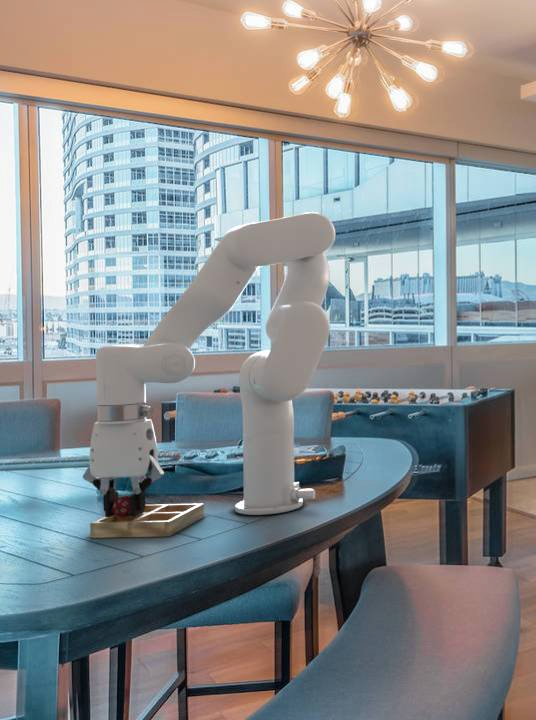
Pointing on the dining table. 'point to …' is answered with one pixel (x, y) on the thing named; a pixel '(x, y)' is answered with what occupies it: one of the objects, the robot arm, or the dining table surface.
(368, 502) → the dining table surface
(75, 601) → the dining table surface
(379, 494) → the dining table surface
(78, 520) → the dining table surface
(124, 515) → the dice
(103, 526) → the wooden compartment tray
